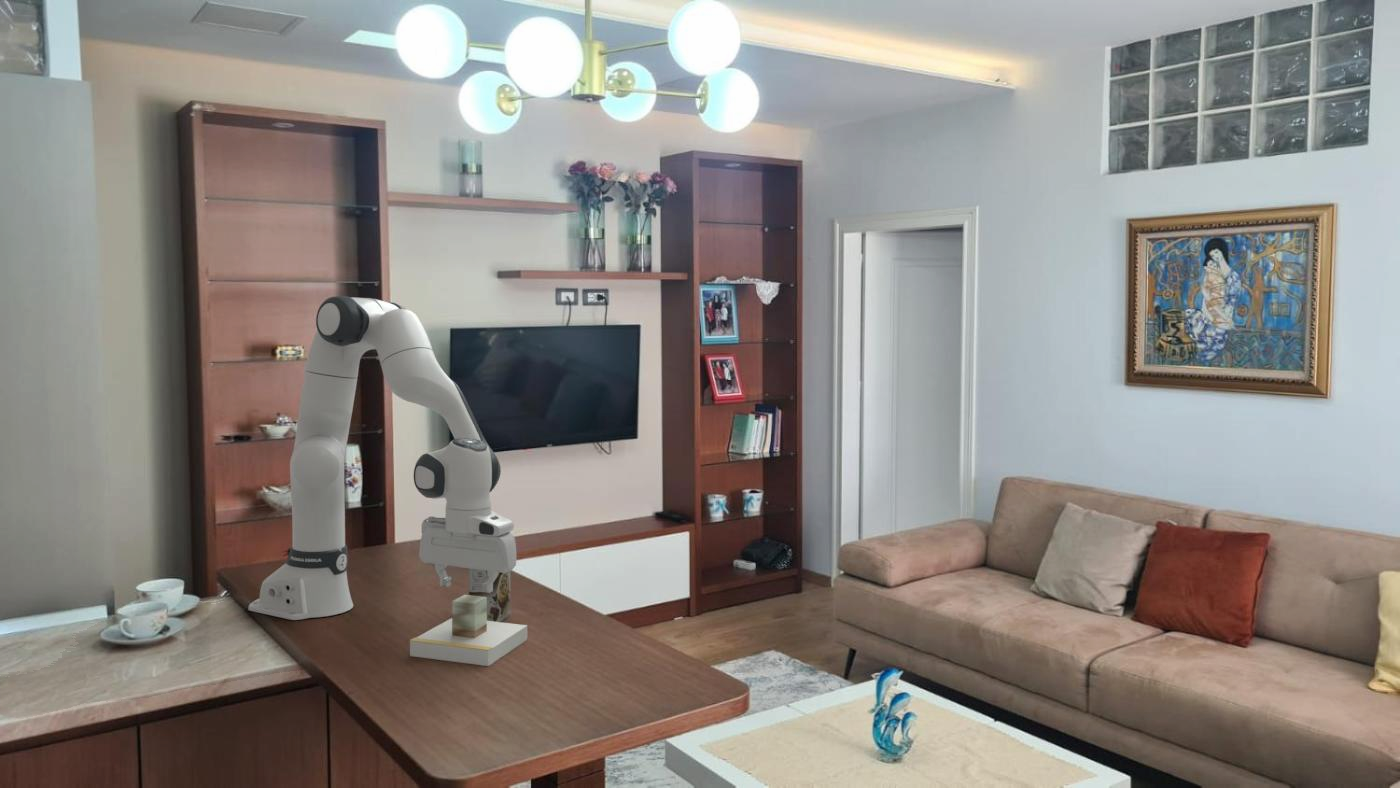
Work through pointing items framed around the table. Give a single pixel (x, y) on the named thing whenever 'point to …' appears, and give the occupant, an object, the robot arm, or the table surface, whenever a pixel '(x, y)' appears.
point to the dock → (469, 643)
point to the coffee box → (492, 593)
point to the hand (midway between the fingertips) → (466, 588)
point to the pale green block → (469, 616)
